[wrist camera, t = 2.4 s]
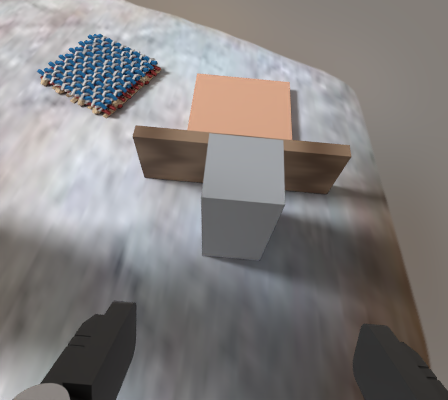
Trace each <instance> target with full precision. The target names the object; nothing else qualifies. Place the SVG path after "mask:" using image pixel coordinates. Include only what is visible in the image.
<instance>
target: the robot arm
mask: <svg viewBox="0 0 448 400" xmlns="http://www.w3.org/2000/svg"><path fill="white" fill-rule="evenodd" d="M135 343H136V303H135V302H123V301H113V302H112V304H111V305H110V307H109V309H108V310H107V312H106V313H105V315H98V314H95V315H94V316H92V317H91V318H90V319H88V320H87V321H85V322H84V323H83V324H82V325H81V327H80V328H79V329H78V331H77V332H76V334H75V336H74V337H73V338H72V339H71V341H70V342H69V344H68V347H66V348H65V349H64V351H63V352H62V354H61V355H60V356H59V358H58V359H57V361H56V362H55V364H54V365H53V366H52V368H51V369H50V371H49V372H48V373H47V375H46V376H45V378H44V379H43V381H42V382H41V383H40V384H39V385H36V386H33V387H30V388H28V389H26V390H24V391H23V392H21V393H20V394H18V395H17V396H16V397H15V398H13V399H12V400H116V398H117V396H118V393H119V391H120V388H121V386H122V383H123V381H124V378H125V375H126V373H127V370H128V368H129V365H130V363H131V360H132V358H133V354H134V350H135ZM353 372H354V377H355V380H356V382H357V384H358V386H359V388H360V390H361V392H362V394H363V397H364V399H365V400H448V391H447V390H446V388H445V387H444V386H443V385H442V383H441V382H440V381H439V380H437V377H436V376H435V374H434V373H433V372H432V371H431V369H429V368H428V366H427V364H426V363H425V362H424V361H423V359H422V358H421V357H420V356H419V354H418V353H416V352H415V351H414V350H413V349H411V348H410V347H409V346H407V345H406V344H405V343H404V342H399V340H398V339H397V338H396V336H395V335H394V334H393V332H392V331H391V330H390V328H389V327H388V326H385V325H374V324H363V325H362V326H361V329H360V333H359V337H358V341H357V346H356V350H355V354H354V358H353Z"/></svg>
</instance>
